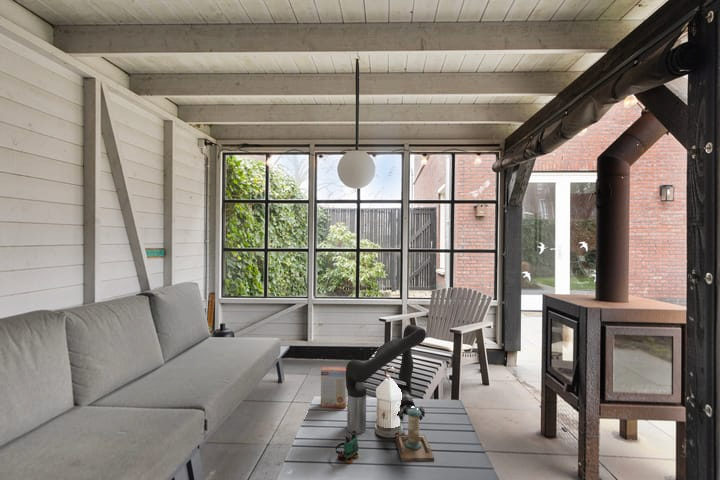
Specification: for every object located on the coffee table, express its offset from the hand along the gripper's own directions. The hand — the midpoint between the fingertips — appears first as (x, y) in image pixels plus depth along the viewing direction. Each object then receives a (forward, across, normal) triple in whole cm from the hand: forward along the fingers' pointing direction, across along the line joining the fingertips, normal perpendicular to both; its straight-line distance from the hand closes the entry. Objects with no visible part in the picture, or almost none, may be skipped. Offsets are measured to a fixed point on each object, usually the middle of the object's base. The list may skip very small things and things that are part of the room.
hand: (411, 418), depth 181 cm
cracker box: (-40, -37, +11) cm, 56 cm away
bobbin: (+6, 0, +10) cm, 11 cm away
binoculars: (+13, -30, +11) cm, 34 cm away
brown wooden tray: (+6, 0, +11) cm, 12 cm away
